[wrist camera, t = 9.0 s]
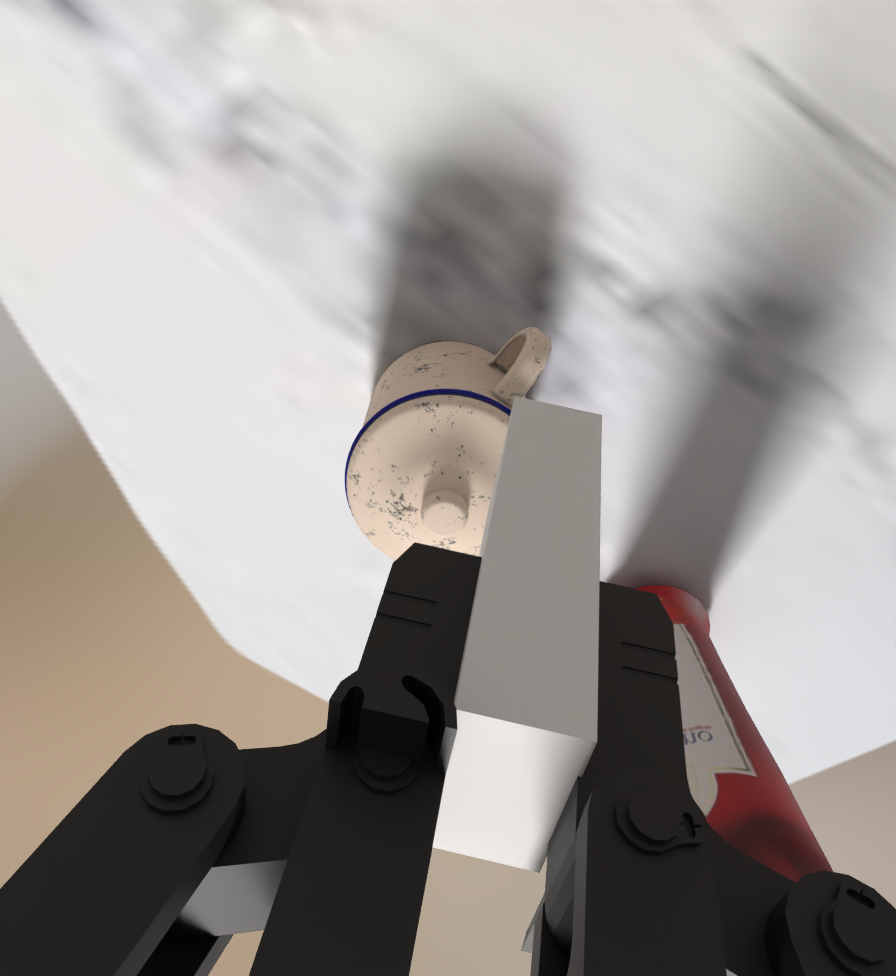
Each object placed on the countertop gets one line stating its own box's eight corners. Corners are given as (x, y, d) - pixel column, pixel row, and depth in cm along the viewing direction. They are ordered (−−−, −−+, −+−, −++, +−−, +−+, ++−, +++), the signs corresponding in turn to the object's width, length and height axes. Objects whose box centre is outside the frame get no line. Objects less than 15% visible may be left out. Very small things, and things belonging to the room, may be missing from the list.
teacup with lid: (466, 519, 46) (467, 644, 36) (334, 433, 44) (293, 539, 33) (603, 357, 41) (649, 446, 31) (462, 252, 39) (462, 310, 29)
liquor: (637, 685, 51) (801, 1255, 26) (563, 618, 49) (665, 1170, 24) (731, 622, 49) (1012, 1181, 24) (658, 547, 47) (883, 1078, 22)
